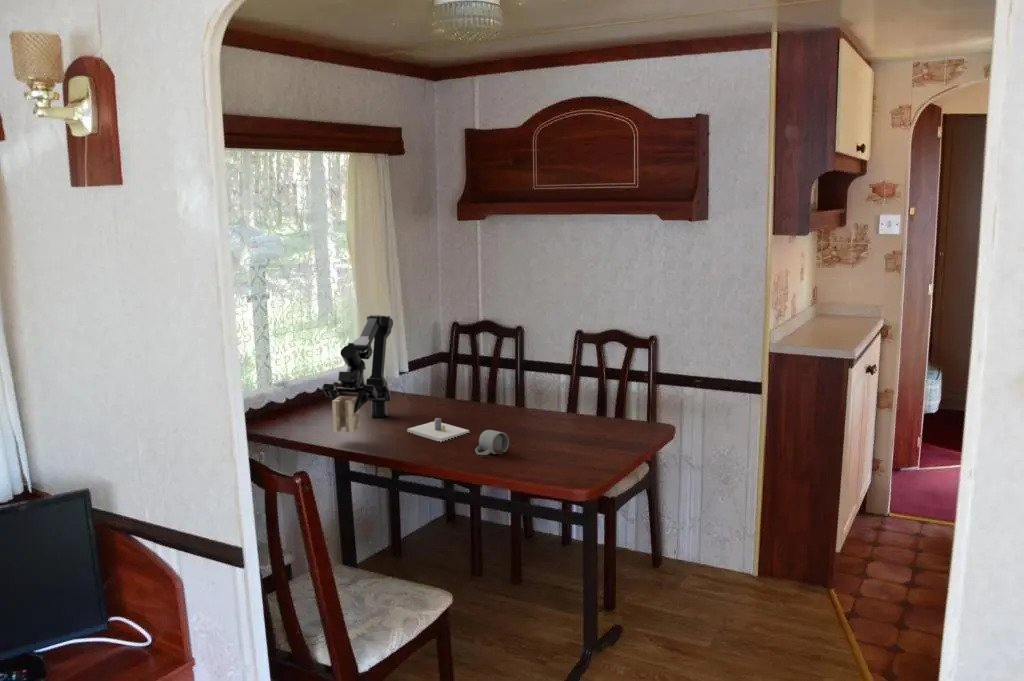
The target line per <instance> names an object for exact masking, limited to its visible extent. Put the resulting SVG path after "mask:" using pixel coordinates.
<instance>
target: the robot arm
mask: <svg viewBox="0 0 1024 681" xmlns="http://www.w3.org/2000/svg"><path fill="white" fill-rule="evenodd" d="M393 326H394V320H393V318H391V317H390V315H380V314H369V315H367V317H366V323H365V325H364V326H363V329H362V331H361V333H360V335H359V337H358V338H356V339H354V340H353V342H348V344H347V345H345V346H343V347H342V348H341V349H340V357H341V358H342V360H343V361H344V364H345V365H346V366H347V370H346V371H338V379H337V381H338V382H340V387H339V386H337V385H336V383H334V382H325V383H323V385H322V387H321V390H322V391H323V394H325V396H326V397H328V398H331V399H332V400H331V401H333V400H334V399H336V398H337V397H339V396H340V395H339V394H354V395H356V394H357V397H358V398H357V401H356V404H355V407H354V413H356V412H357V411H358V410H359V411H360V408H362V406H363V405H365V404H366V403H367V402H370V410H371V412H369V413H368V414H369V416H370V417H371V418H372V419H374V418H375V419H376V418H386V416H388V417H389V414H388V413H387V402H391V399H392V393H391V391H390V389H389V388H388V382H387V380H386V378H385V375H384V374H385V365H386V364H385V361H386V348H387V339H388V338H389V336H390V335H391V333H392V329H393ZM372 343H373V348H372ZM371 357H372V363H371V365H372V366H371V374H370V376H369V377H368V378H366V381H365V384H363V385H362V386H360V385H361V384H362V383H363V376H364V375H363V374H364V371H365V370H366V363H365V361H364V360H369V359H371ZM341 386H342V387H341ZM361 387H362V388H361Z"/></svg>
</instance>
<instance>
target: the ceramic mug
mask: <svg viewBox="0 0 1024 681" xmlns="http://www.w3.org/2000/svg"><path fill="white" fill-rule="evenodd" d="M478 437H479V438H478V444H479V445H477V447H476V448H475V450H474V451H475V453H476V455H477V454H478V455H486V456H487V455H490V454H493V455H495V454H496V453H495V452H496V451H502V452H505V453H506V451H507V450H508V448H509V444H510V438H509V436H508V435H507V434H506V433H505V432H503V431H498V430H492V429H486V430H484V431H483V432H481V433H480V435H479V436H478ZM480 450H484V451H481V452H479V451H480ZM478 455H477V456H478Z"/></svg>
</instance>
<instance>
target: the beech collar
mask: <svg viewBox="0 0 1024 681" xmlns="http://www.w3.org/2000/svg"><path fill="white" fill-rule="evenodd" d="M338 396H339V397H337V398H336V399H334V400H331V405H332V406H331V407H332V426H333V430H332V431H333V432H336V433H340V432H342V429H343V428H345V432H346V433H352V434H353V433H354V432H356V430H358V429H359V428H360V409H359V410H358V411H357V412H356V413H354V407H355V404H356V401H357V398H358V396H352V395H338Z"/></svg>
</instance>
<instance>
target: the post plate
mask: <svg viewBox="0 0 1024 681" xmlns="http://www.w3.org/2000/svg"><path fill="white" fill-rule="evenodd" d="M406 431H407V433H409V432H410V434H412V433H413V435H416V436H419V437H423V438H426V439H429V440H433V441H437V442H439V441H440V443H442V441H443V442H446V441H449V440H448V439H450V440H452V439H451V438H453V439H455V438H454V437H456V438H458V437H457V436H460V435H463V434H466V433H469V434H470V430H469V429H466V428H462V427H458V426H455V425H453V424H448V423H446V422H445V423H443V422H442V418H441V417H436V418H434V421H430V422H427V423H424V424H419V425H416V426H413V427H409V428H407V429H406ZM466 435H467V434H466ZM463 436H464V435H463ZM460 437H461V436H460ZM445 440H446V441H445Z"/></svg>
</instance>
